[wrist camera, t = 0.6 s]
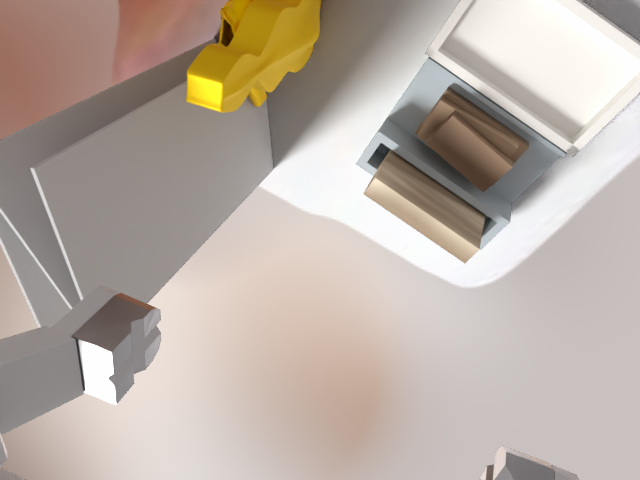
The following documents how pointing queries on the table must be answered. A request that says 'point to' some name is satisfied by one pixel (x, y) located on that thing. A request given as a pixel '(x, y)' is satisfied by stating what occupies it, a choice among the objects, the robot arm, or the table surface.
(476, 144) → the offcut
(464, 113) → the offcut
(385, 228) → the table surface
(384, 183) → the maple sheet
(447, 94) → the offcut
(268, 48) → the figure statuette
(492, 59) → the tray
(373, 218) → the table surface
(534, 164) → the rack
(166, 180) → the grey tall block
